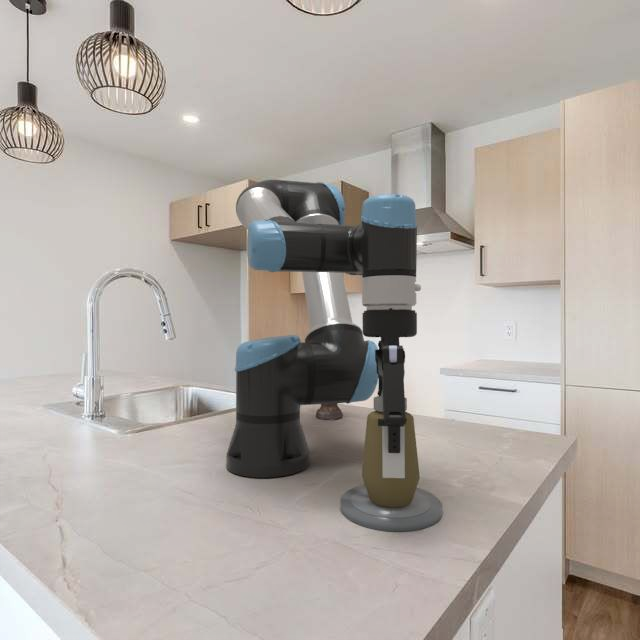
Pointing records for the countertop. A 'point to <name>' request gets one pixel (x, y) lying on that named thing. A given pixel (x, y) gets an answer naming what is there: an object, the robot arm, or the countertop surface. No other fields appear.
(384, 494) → the squeeze bottle
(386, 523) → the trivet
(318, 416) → the mortar and pestle
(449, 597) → the countertop surface
